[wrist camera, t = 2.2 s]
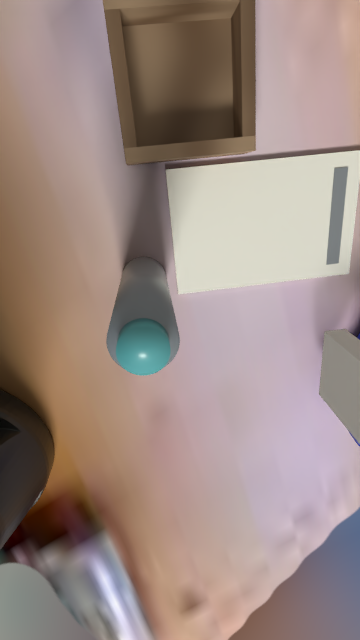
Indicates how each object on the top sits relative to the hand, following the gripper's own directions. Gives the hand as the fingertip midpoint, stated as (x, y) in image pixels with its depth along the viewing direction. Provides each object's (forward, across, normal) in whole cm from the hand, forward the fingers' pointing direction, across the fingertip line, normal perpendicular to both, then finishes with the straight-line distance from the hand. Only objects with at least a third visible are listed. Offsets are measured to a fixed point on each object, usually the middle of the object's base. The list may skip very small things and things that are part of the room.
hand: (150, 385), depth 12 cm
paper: (+15, +9, +3) cm, 18 cm away
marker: (+15, 0, 0) cm, 15 cm away
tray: (+15, +4, +12) cm, 19 cm away
